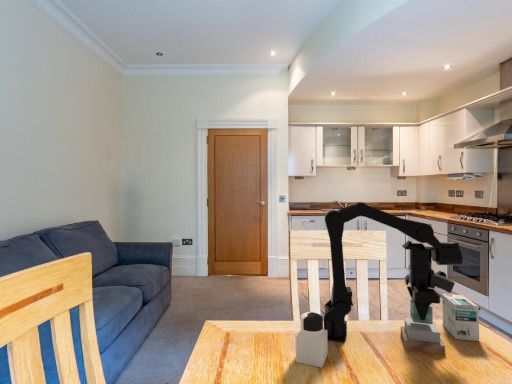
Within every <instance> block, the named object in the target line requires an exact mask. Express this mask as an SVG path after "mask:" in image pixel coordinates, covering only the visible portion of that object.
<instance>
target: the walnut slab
mask: <svg viewBox="0 0 512 384" xmlns="http://www.w3.org/2000/svg"><path fill="white" fill-rule="evenodd" d="M400 335H401V339H402V343H403V346H404V350H408V351H416V352H422V353H423V352H425V353H431V354H437V355H438V354H439V355H446V345H445V344H444V342H443V340H442V338H441V337H440V343H434V342H426V341H417V340H409V338H408V335H407V333H406V330H405V326H403V325H402V326H400Z"/></svg>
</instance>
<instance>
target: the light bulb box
mask: <svg viewBox="0 0 512 384" xmlns="http://www.w3.org/2000/svg"><path fill="white" fill-rule="evenodd" d="M441 295H442V296H441V297H442V299H441V300H442V326H443V327H444V328H445V329H446V330H447V331H448V333H450V335H451V336H453V338H454V339H455V340H462V341H474V342H476V341H477V342H479V341H480V313H479V312H480V311H479V310H480V308H479V307H480V306H479V305H477V304H476V303H475V302H473V301H472V300H470V299H469V298H467V297H466V296H465V295H463V294H451V293H450V294H449V293H442V294H441Z"/></svg>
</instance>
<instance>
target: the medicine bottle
mask: <svg viewBox="0 0 512 384" xmlns="http://www.w3.org/2000/svg"><path fill="white" fill-rule="evenodd" d="M328 354H329V353H328V340H327V330H325V329H324V316H322V314H319V313H317V312H313V311H307V312H304V313H302V314H300V329H299V330H298V332H297V333H296V335H295V362H296V363H300V364H304V365H308V366H311V367H316V368H323V367H324V364H325V362H326V359H327V357H328Z"/></svg>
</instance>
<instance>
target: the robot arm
mask: <svg viewBox="0 0 512 384" xmlns="http://www.w3.org/2000/svg"><path fill="white" fill-rule="evenodd" d="M361 216H362V217H364V218H367V219H369V220H373V221H375V222H377V223H380V224H383V225H385V226H387V227H390V228H394V229H396V230H397V231H399V232H400V233H402V234H404V235H406V237H409V238H411V239H412V240H413V241H414V240H415V241H416V243H415V242H412V241H411V240H406V243H404V244H402V245H401V247H402V248H403V249H404V250H409V265H408V270H409V274H407V275H405V277H404V283H405V286H406V289H407V291H408V293H409V296H410V298H411V299H410V300H413V301H414V304H415V306H416V309H417V312H418V314H419V317H420V319H421V320H425V318H426V315H427V312H428V309H429V306H430V304H431V305H432V304H438V305H440V304H441V296H440V294H439V292H437V291H436V290H435V289H436V288H438V289H441V290H442V291H443V290H444V291H445V292H447V293H448V294H449V293H450V294H451V293H452V291H453V288H454V286H455V284H456V282H455V281H454V280H453V279H451V278H449V277H447V273H446V272H445V271H442V270H438V271H437V272H435V270H434V269H433V268H432V261H433V262H435V263H436V265H438V266H462V264H463V259H464V258H463V256H464V255H463V254H462V250H461V248H460V245H459V244H460V243H459V242H456V241H448V242H447V241H446V242H445V241H443V242H441V241H439V239H438V238H437V237H436V235H435V231H434V229H433V227H432V225H429V223H424V222H422V221H417V220H412V219H407V218H402V217H399V216H397V215H394V214H392V213H388V212H386V211H383V210H381V209H378V208H376V207H374V206H371V205H368V204H366V203H365V202H362V201H358V202H355V203H354V204H351V205H348V206H345V207H343V208H339V209H329V210H328V211H326V213H325V215H324V223H325V226H326V230H327V234H328V238H329V247H330V260H331V271H332V287H331V294H330V299H329V300H328V301H327V302H326V303H325V304H324V315H323V329H325V330H327V341H336V342H343V343H345V342H346V338H347V336H348V323H347V320H346V316H347V315H348V314H350V313H351V311H352V307H354V303H353V291H352V288H351V286H346V285H347V284H346V276H345V275H346V274H345V264H344V251H343V249H344V248H343V234H344V229H345V223H348V222H349V221H352V220H354V219H356V218H358V217H361ZM424 244H427V245H428V246H427V245H426V246H425V245H424Z"/></svg>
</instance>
